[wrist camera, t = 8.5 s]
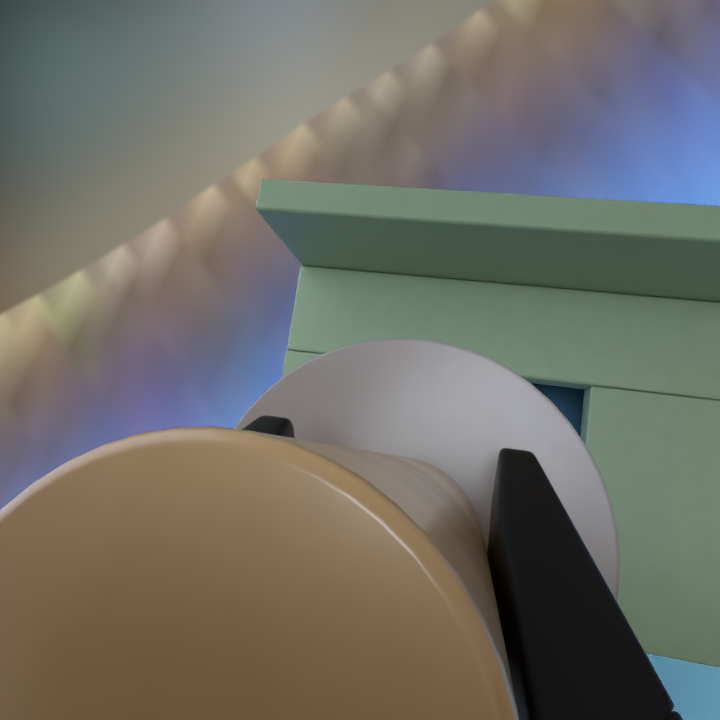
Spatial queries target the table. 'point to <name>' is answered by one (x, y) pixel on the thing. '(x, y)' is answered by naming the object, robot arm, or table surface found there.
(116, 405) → the table surface
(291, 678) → the cylinder on round base
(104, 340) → the table surface
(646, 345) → the rack
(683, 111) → the table surface
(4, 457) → the table surface
